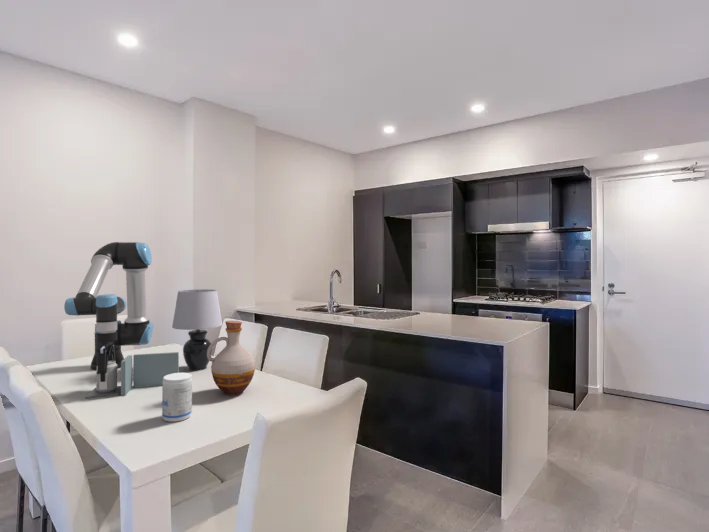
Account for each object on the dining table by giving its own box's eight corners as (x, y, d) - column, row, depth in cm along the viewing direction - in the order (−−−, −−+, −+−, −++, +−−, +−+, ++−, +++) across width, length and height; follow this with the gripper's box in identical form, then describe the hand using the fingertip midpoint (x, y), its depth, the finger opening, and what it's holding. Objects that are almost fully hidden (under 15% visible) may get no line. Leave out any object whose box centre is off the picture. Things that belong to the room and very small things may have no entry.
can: (91, 392, 165) (91, 363, 165) (106, 387, 172) (106, 359, 173) (107, 393, 164) (107, 364, 164) (121, 388, 171) (121, 360, 171)
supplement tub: (157, 417, 141) (157, 376, 141) (183, 410, 148) (183, 370, 148) (170, 425, 135) (170, 381, 135) (197, 417, 142) (197, 375, 142)
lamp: (228, 370, 203) (228, 291, 202) (177, 377, 189) (177, 293, 189) (215, 360, 223) (215, 288, 222) (168, 366, 209) (168, 290, 209)
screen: (129, 386, 176) (128, 354, 176) (178, 382, 181) (178, 352, 181) (121, 395, 164) (121, 361, 163) (174, 391, 169) (174, 358, 169)
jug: (209, 402, 156) (209, 325, 156) (203, 389, 172) (204, 319, 172) (259, 395, 165) (260, 322, 165) (250, 383, 181) (250, 317, 181)
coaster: (95, 389, 172) (95, 387, 172) (126, 386, 175) (126, 385, 175) (85, 398, 161) (85, 396, 161) (119, 395, 164) (119, 394, 164)
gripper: (104, 327, 177) (104, 379, 177) (87, 336, 157) (87, 394, 157) (123, 327, 179) (123, 377, 179) (109, 335, 159) (109, 392, 159)
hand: (106, 385), depth 168 cm, fingers open, 8 cm apart
